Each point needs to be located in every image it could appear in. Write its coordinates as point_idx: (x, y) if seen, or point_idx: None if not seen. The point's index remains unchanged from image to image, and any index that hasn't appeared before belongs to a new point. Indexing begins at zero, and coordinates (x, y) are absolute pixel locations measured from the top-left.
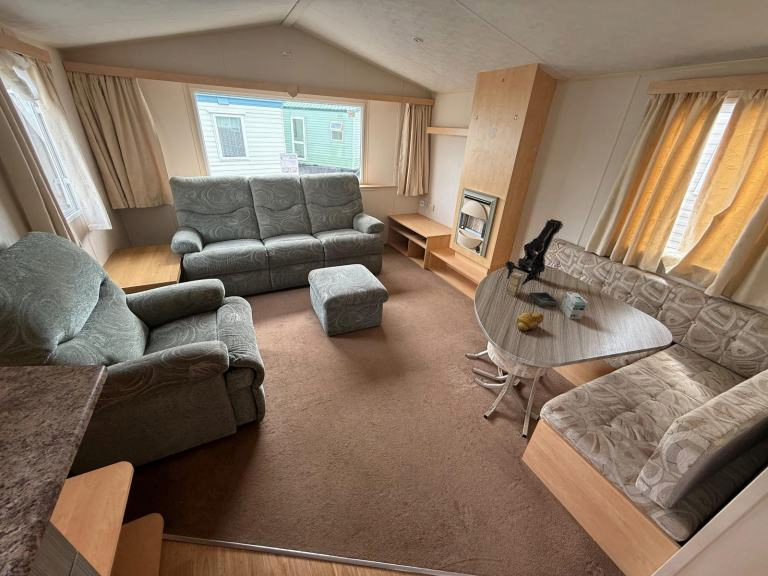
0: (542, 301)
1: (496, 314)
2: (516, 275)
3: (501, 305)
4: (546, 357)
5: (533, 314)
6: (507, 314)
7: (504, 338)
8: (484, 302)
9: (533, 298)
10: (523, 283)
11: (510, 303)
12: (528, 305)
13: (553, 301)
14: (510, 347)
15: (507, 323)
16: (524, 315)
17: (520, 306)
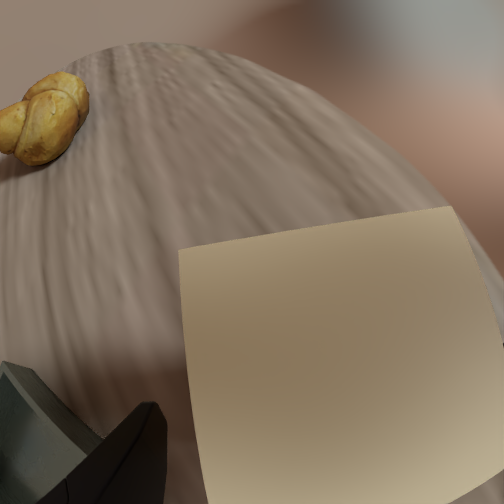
0: (45, 466)
1: (186, 86)
2: (339, 290)
3: (217, 147)
4: None
5: (19, 105)
6: (146, 120)
7: (111, 58)
8: (300, 101)
9: (79, 432)
10: (134, 410)
11: (189, 217)
12: (83, 321)
13: (5, 495)
14: (91, 58)
15: (123, 89)
16: (54, 75)
17: (118, 249)
